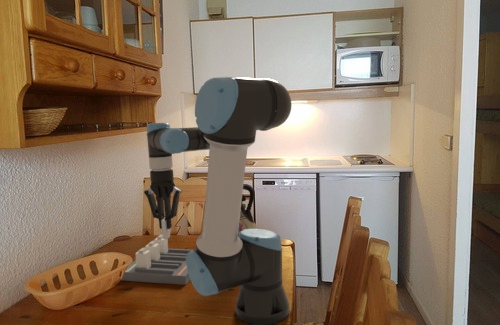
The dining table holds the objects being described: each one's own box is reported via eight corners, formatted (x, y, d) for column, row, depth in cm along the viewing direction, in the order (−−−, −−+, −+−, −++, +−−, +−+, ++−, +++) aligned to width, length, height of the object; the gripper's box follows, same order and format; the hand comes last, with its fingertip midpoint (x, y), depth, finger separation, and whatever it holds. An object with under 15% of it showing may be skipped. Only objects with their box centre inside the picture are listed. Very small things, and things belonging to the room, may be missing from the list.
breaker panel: (185, 284, 122) (185, 273, 121) (120, 280, 127) (119, 269, 126) (207, 259, 143) (206, 249, 142) (150, 256, 148) (150, 246, 148)
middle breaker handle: (156, 261, 134) (155, 243, 133) (146, 261, 134) (145, 243, 134) (160, 258, 137) (159, 241, 136) (150, 258, 137) (149, 240, 137)
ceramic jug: (215, 266, 136) (211, 187, 132) (227, 251, 150) (224, 179, 146) (260, 269, 131) (257, 187, 128) (268, 253, 146) (266, 179, 142)
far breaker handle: (164, 254, 140) (163, 237, 140) (155, 254, 141) (154, 237, 140) (168, 251, 143) (167, 234, 142) (158, 251, 144) (157, 234, 143)
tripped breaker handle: (147, 269, 127) (145, 251, 126) (136, 269, 128) (135, 250, 127) (151, 266, 130) (149, 247, 129) (140, 265, 131) (139, 247, 130)
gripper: (184, 167, 125) (188, 234, 127) (148, 168, 127) (153, 234, 130) (175, 170, 117) (179, 242, 120) (137, 171, 120) (143, 241, 123)
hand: (166, 237), depth 125 cm, fingers closed
